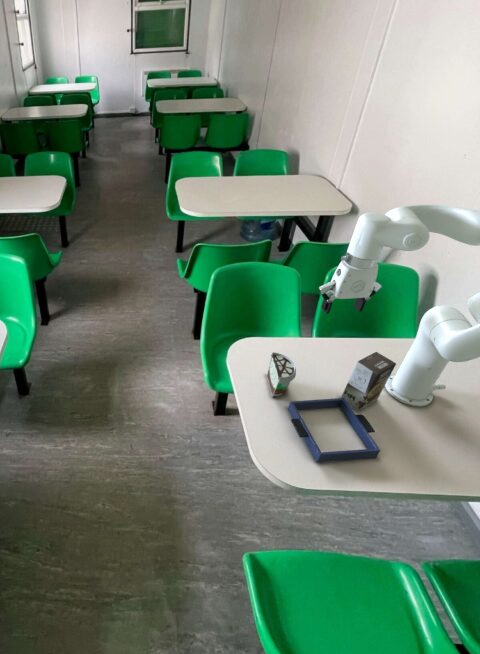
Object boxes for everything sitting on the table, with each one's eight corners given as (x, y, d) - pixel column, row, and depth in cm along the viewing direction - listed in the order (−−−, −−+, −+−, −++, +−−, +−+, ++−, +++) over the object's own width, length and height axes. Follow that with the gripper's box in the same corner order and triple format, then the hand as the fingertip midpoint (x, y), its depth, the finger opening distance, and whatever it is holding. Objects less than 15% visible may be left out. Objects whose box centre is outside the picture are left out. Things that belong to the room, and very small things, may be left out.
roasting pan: (347, 404, 130) (351, 397, 128) (384, 457, 115) (389, 450, 113) (279, 409, 129) (282, 401, 127) (307, 463, 114) (311, 455, 112)
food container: (293, 402, 131) (301, 380, 126) (273, 401, 132) (280, 378, 126) (285, 374, 141) (292, 352, 135) (265, 373, 142) (272, 351, 136)
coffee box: (358, 412, 128) (377, 374, 118) (339, 398, 132) (356, 360, 123) (377, 401, 131) (397, 363, 121) (358, 387, 136) (376, 350, 126)
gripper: (336, 268, 110) (318, 319, 120) (401, 264, 110) (377, 316, 120) (322, 254, 116) (306, 304, 126) (383, 250, 116) (362, 300, 126)
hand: (341, 310), depth 123 cm, fingers open, 9 cm apart
